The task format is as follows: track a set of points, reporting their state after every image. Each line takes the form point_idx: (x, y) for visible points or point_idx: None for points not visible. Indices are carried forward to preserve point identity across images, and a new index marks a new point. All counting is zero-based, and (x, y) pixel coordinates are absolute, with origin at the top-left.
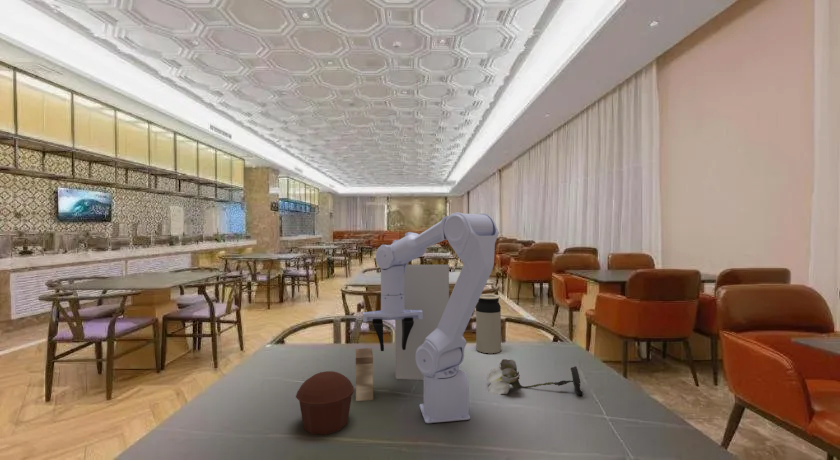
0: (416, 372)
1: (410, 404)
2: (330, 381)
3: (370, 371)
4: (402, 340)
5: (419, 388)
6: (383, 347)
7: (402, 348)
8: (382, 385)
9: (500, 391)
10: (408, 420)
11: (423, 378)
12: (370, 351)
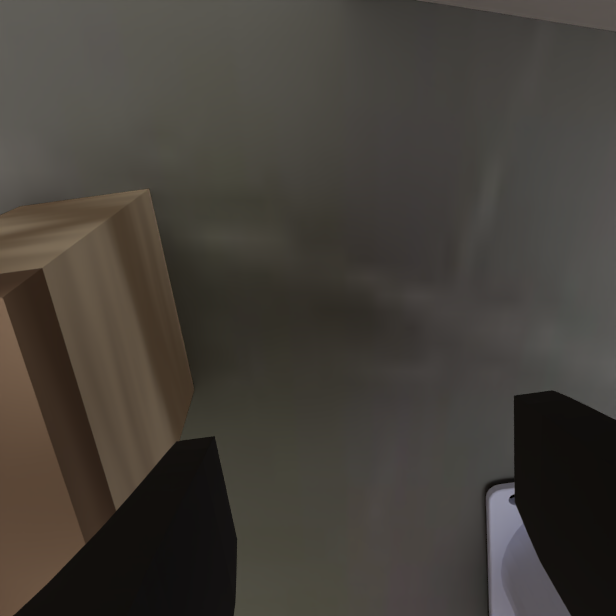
0: (564, 10)
1: (435, 452)
2: None
3: None
4: (579, 527)
5: (528, 218)
6: (229, 597)
7: (519, 484)
8: (230, 144)
9: None
10: (410, 603)
11: (602, 28)
12: (28, 456)
